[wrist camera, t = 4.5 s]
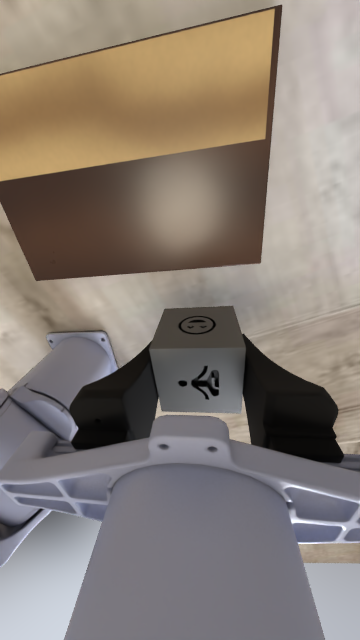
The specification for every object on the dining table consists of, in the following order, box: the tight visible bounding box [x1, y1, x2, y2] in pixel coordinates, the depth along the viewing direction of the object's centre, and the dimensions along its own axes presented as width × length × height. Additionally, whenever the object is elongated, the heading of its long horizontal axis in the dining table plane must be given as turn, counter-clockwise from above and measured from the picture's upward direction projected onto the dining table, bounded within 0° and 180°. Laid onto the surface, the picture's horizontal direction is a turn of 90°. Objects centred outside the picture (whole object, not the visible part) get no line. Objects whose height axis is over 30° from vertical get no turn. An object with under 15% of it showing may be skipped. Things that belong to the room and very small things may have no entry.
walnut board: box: [0, 5, 282, 281], centre depth 16 cm, size 14×22×2 cm, turn 96°
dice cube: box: [149, 306, 246, 413], centre depth 14 cm, size 5×5×5 cm
